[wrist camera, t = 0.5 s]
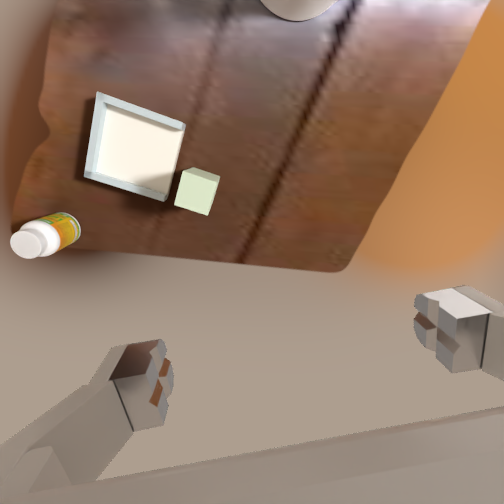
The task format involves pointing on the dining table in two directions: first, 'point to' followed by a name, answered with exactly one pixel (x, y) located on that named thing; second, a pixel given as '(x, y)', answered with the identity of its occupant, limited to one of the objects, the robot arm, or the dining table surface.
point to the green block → (197, 190)
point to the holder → (133, 147)
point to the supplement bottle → (45, 235)
